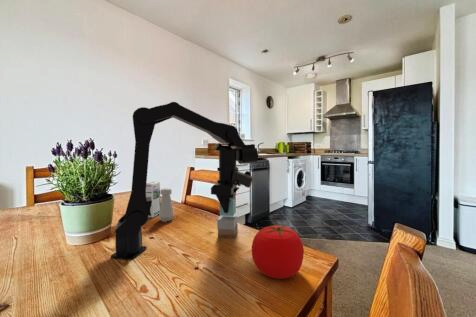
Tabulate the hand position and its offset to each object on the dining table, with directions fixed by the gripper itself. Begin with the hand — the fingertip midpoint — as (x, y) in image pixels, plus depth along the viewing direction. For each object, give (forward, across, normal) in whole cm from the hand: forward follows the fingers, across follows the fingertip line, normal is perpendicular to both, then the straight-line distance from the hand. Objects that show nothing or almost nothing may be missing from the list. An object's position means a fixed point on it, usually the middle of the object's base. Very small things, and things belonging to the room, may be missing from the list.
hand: (227, 210), depth 69 cm
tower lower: (+8, 0, 0) cm, 8 cm away
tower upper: (+5, 0, 0) cm, 5 cm away
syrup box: (+8, +15, +38) cm, 42 cm away
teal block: (+1, 0, 0) cm, 1 cm away
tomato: (+8, -19, -16) cm, 26 cm away
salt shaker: (+8, +10, +28) cm, 31 cm away
